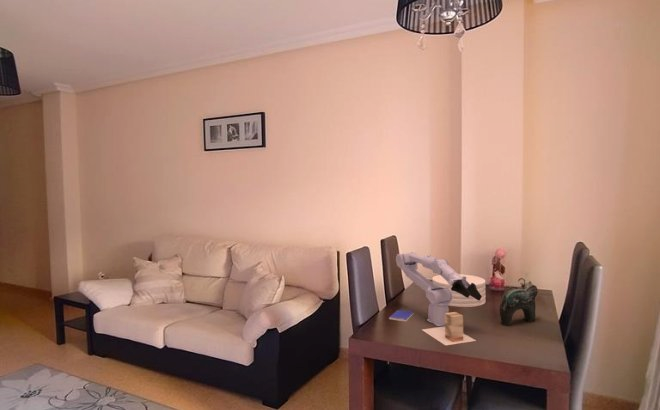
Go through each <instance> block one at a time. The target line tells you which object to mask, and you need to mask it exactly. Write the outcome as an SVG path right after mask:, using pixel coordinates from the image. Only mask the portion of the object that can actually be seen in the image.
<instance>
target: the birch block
mask: <svg viewBox="0 0 660 410" xmlns="http://www.w3.org/2000/svg"><path fill="white" fill-rule="evenodd" d="M444 326H445V338H447V339H449V340H450V341H452V342H455V341H462V340H463V334H464V315H462V314H460V313H458V312H457V311H453V312H449V313H445V325H444Z"/></svg>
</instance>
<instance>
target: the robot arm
mask: <svg viewBox="0 0 660 410" xmlns="http://www.w3.org/2000/svg"><path fill="white" fill-rule="evenodd" d="M395 262H396V266H397V267H398V268H399V269H400V270H402V271H403V273H404V275H405V276H406V277H407V278H408V279H409V280H410V281H412V282H413V283H414V284H415V285H417V286H418V287H419V288H420V289H422V290H423V291H424V292H425V298H427V300H428V301H429V304H428V307H427V308H428V309H427V310H428V312H427V314H428V317H427V319H426V321H427V322H429V323H430V324H431V323H432V324H434V325H435V326H437V327H443V326H445V313H450V312H449V307H450V306H449V305H448V304H450V301H451V300H452V293H451V291H450V290H449V289H448V288H444V287H442V286H438V285H435V284H434V283H432V282H433V281H431V280H430V279H428V278H427V277H426V276H425V275H423V274H422V273H420V272H419V271H418V264H421V265H422V267H423V268H425V269H428V270H431V271H432V273H433V274H437V275H441V276H442V277H443V278H444V279H445V280H446V281H447V282H448V284H449V285H451V286H452V288H451V290H452V291H455V292H458V293H460V294H461V295H463V296H465V297H467V298H468V297H469V296H472V297H474V298H475V299H477V300H480V299H481V297H482V296H481V295H480V293H479V292H478V290H477V288H476V285H475V284H474V283H471V284H469V283H468V282H467V281H466V278H467V277H466V276H462V277H461V276H460V275H459V274H460V273H458V272H457V271H456V270H455V269H453V268H452V267H451V266H450V264H449V262H448V260H447V259H445V258H441V259H439V258H438V257H434V256H433V257H432V256H431V255H430V254H428V255H425V256H422V255H420V254H418V253H417V252H406V253H397V254H396V256H395Z"/></svg>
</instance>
